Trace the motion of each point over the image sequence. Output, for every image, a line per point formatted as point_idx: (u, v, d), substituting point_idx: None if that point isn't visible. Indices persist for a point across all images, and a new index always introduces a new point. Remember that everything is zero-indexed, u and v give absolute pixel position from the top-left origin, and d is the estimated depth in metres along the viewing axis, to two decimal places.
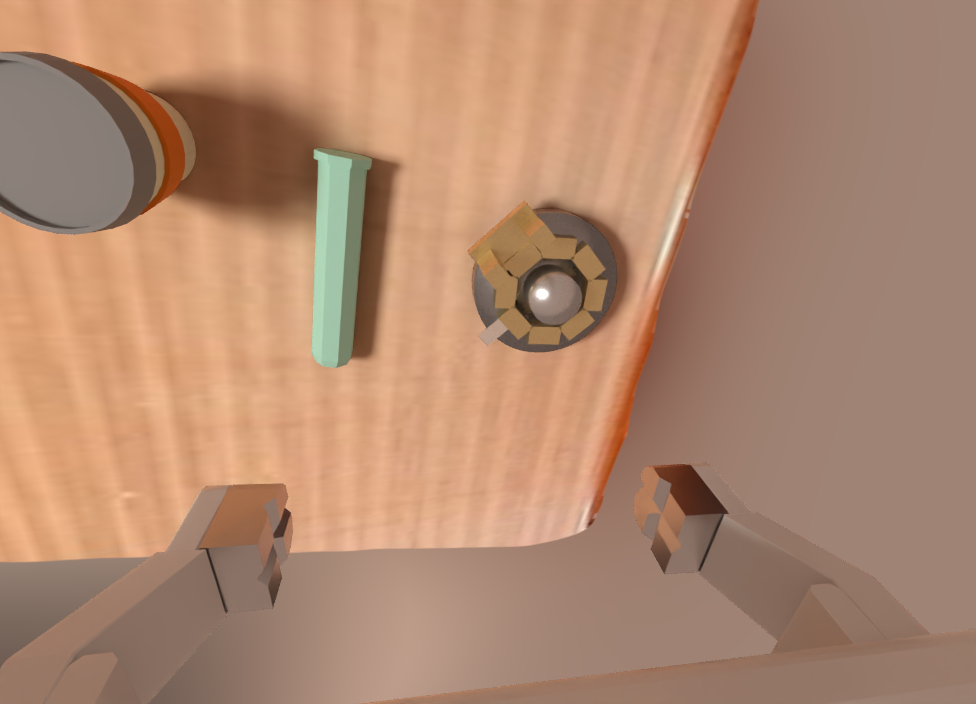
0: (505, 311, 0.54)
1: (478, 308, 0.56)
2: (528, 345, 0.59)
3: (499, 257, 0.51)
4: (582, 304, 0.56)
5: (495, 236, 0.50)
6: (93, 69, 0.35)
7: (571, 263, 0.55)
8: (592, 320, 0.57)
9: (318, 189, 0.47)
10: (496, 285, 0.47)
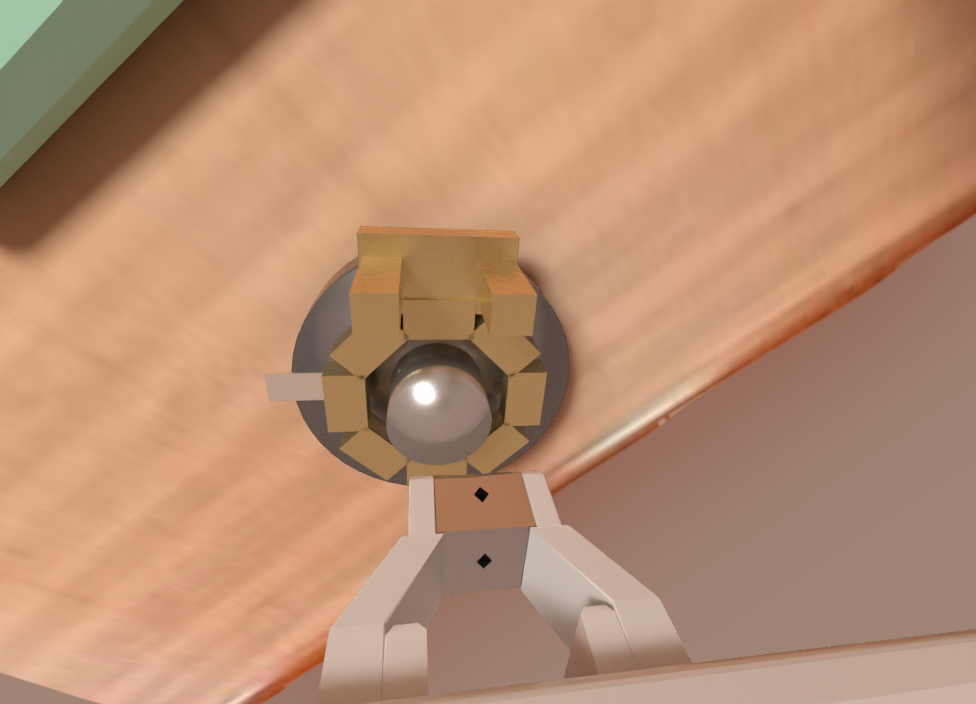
0: (343, 375, 0.26)
1: (302, 332, 0.27)
2: (339, 444, 0.31)
3: (405, 282, 0.24)
4: None
5: (428, 243, 0.24)
6: None
7: (498, 377, 0.30)
8: None
9: None
10: (360, 329, 0.20)
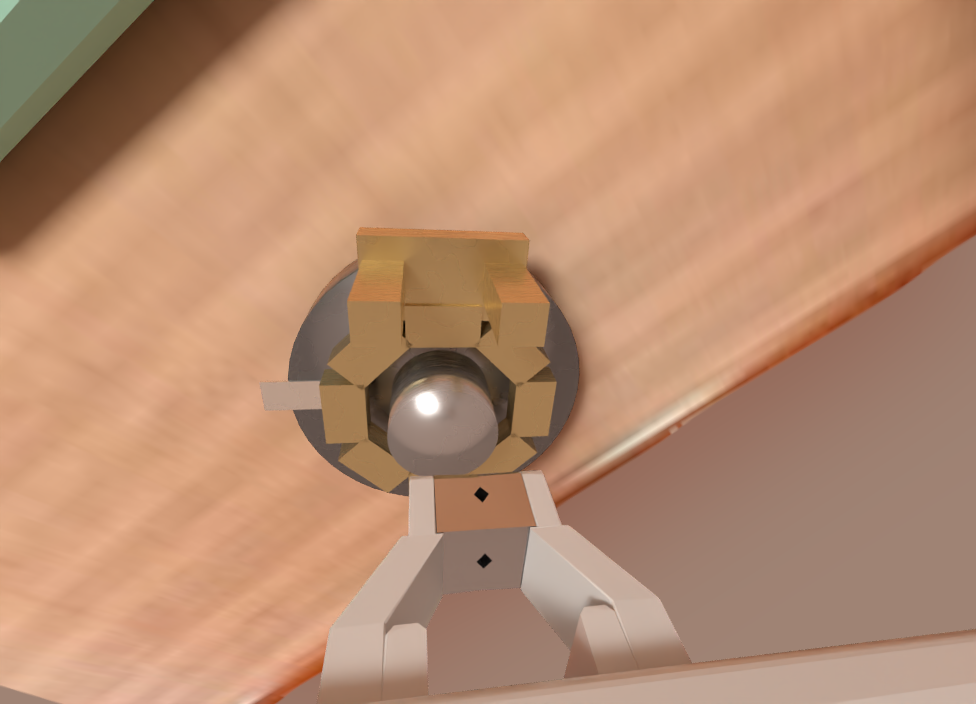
0: (342, 384, 0.25)
1: (299, 338, 0.26)
2: (338, 455, 0.30)
3: (407, 287, 0.23)
4: None
5: (432, 246, 0.22)
6: None
7: (505, 385, 0.29)
8: None
9: None
10: (359, 340, 0.18)
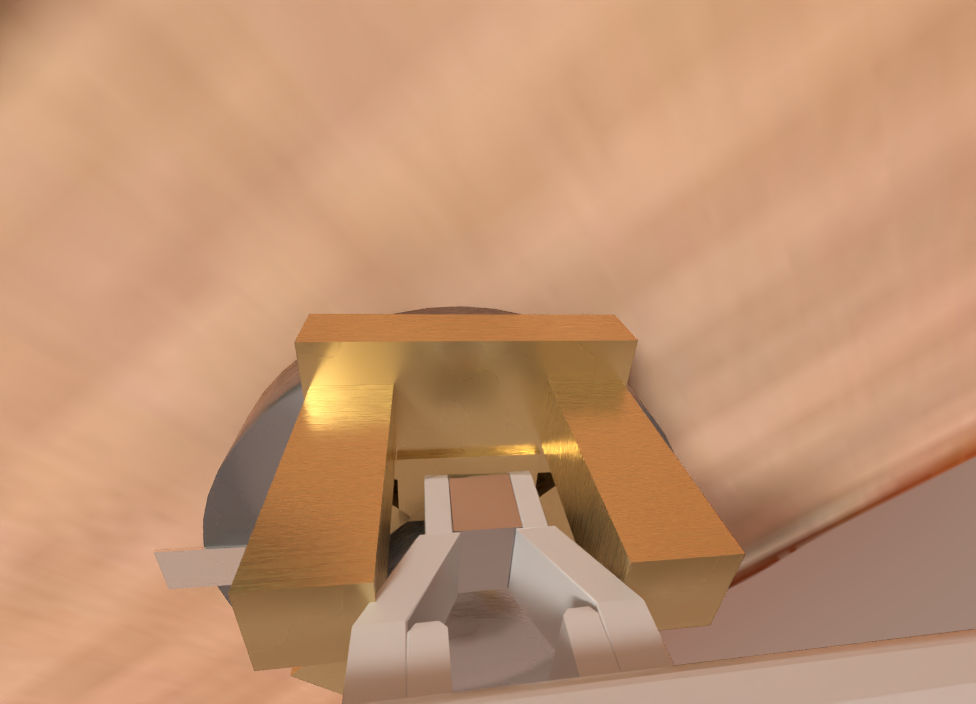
0: None
1: (216, 487, 0.15)
2: None
3: (401, 428, 0.12)
4: None
5: (449, 357, 0.11)
6: None
7: None
8: None
9: None
10: (274, 658, 0.07)
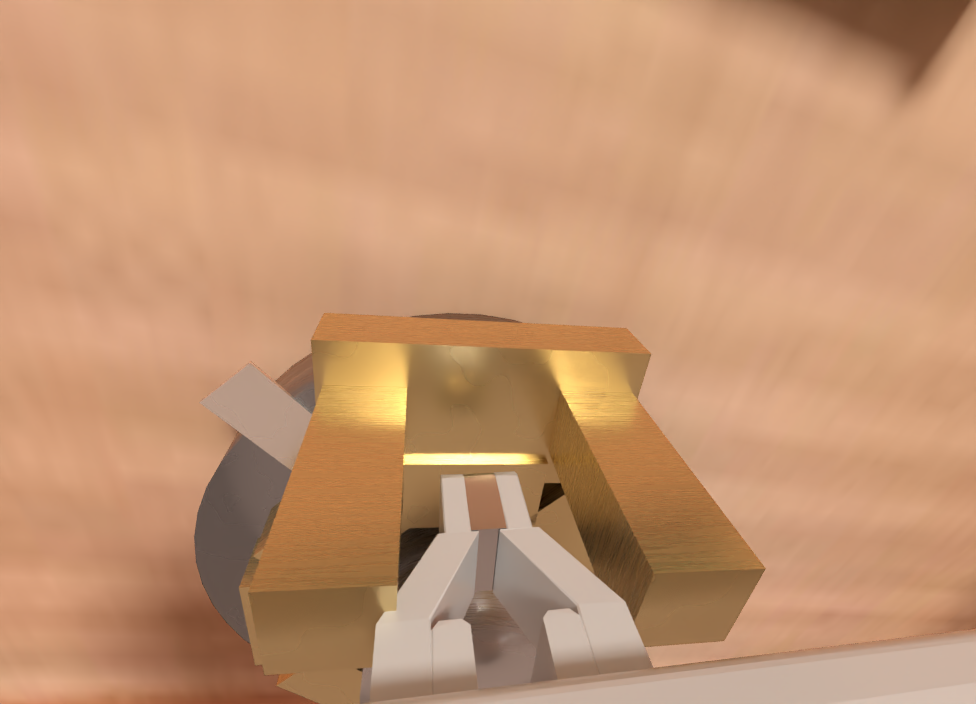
0: None
1: None
2: (224, 535, 0.15)
3: (411, 432, 0.12)
4: None
5: (465, 362, 0.11)
6: None
7: None
8: None
9: None
10: (286, 662, 0.07)
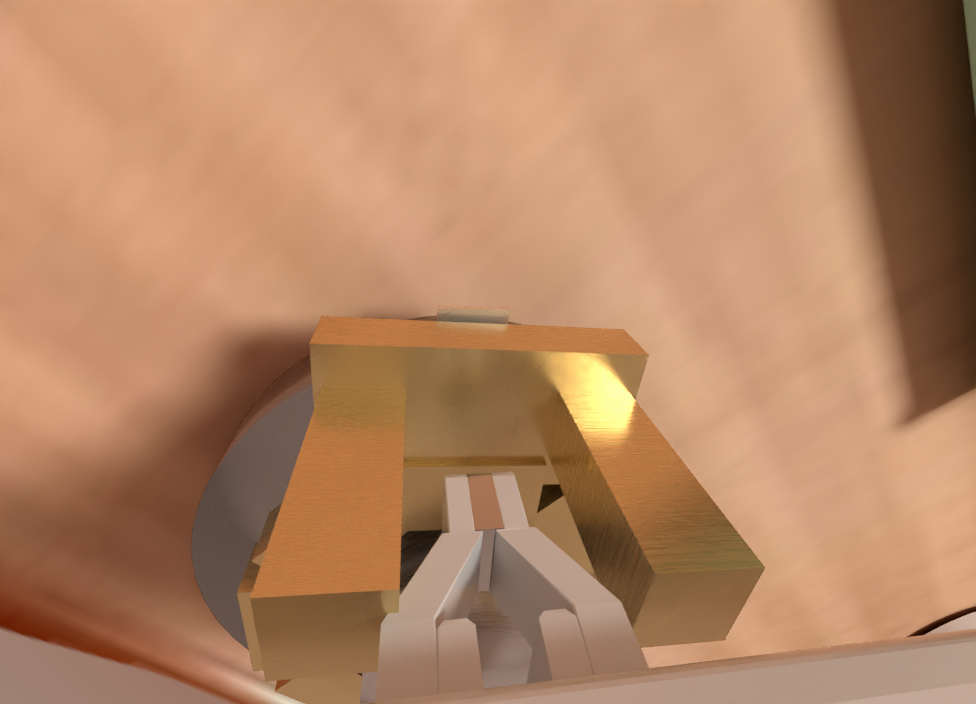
0: None
1: None
2: (307, 424, 0.14)
3: (410, 435, 0.12)
4: None
5: (464, 365, 0.11)
6: None
7: None
8: None
9: None
10: (288, 667, 0.07)
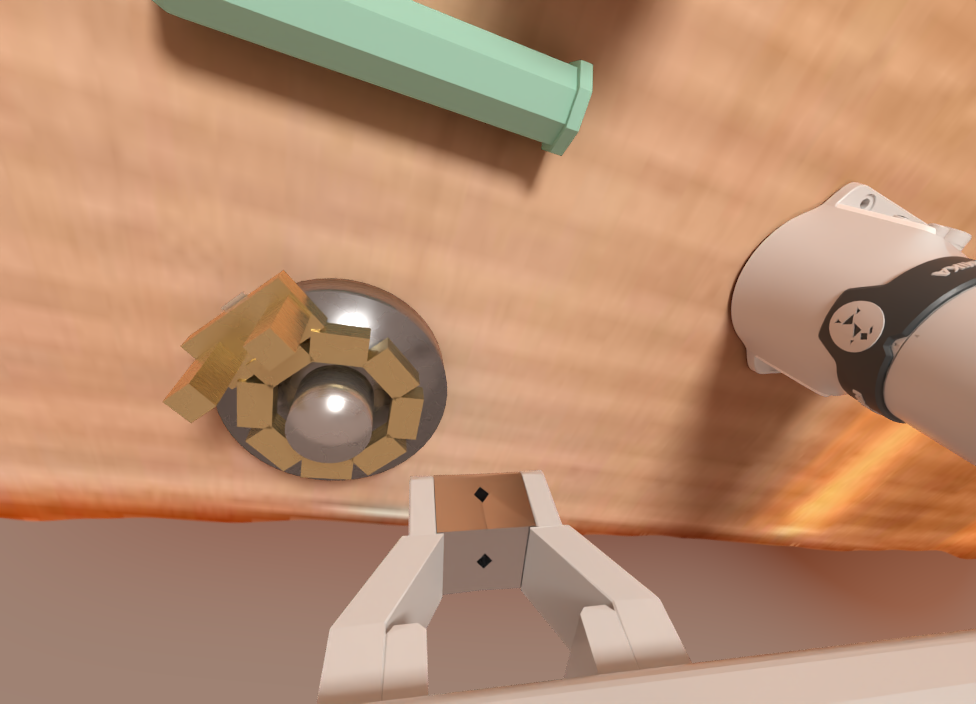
0: (257, 432, 0.35)
1: None
2: None
3: (237, 354, 0.32)
4: (387, 427, 0.37)
5: (226, 322, 0.30)
6: None
7: (373, 425, 0.39)
8: (402, 451, 0.38)
9: (534, 52, 0.27)
10: (191, 416, 0.27)
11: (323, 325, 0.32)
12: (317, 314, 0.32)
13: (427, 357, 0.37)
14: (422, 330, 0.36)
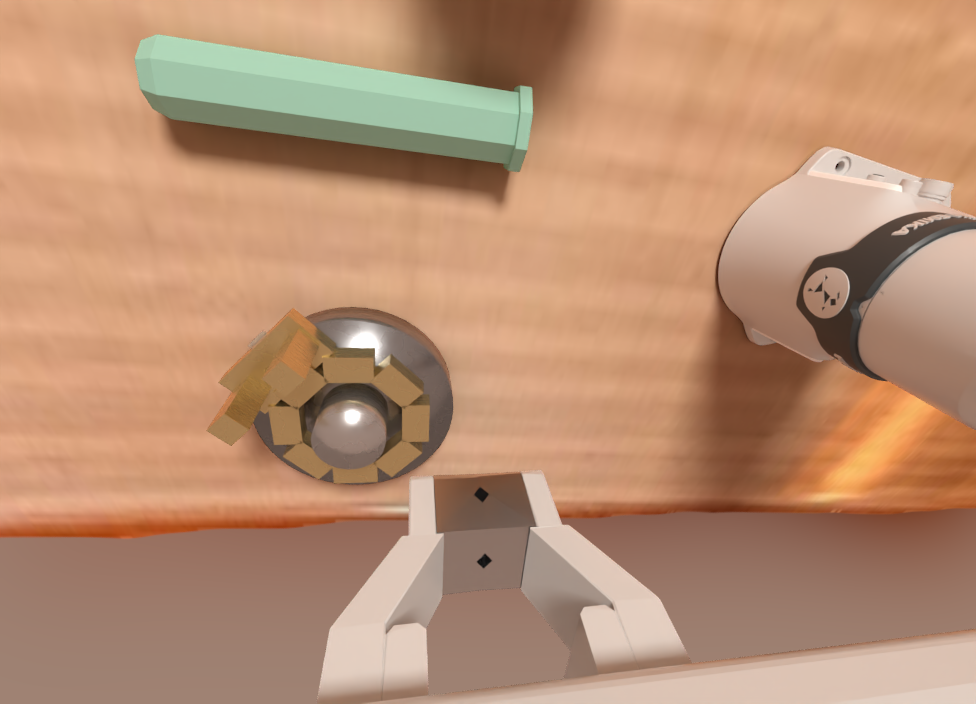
0: (291, 448, 0.40)
1: None
2: None
3: (264, 384, 0.37)
4: None
5: (252, 358, 0.36)
6: None
7: (391, 432, 0.43)
8: (418, 452, 0.42)
9: (477, 88, 0.31)
10: (230, 440, 0.33)
11: (332, 351, 0.37)
12: (326, 342, 0.37)
13: (429, 367, 0.41)
14: (421, 344, 0.40)
